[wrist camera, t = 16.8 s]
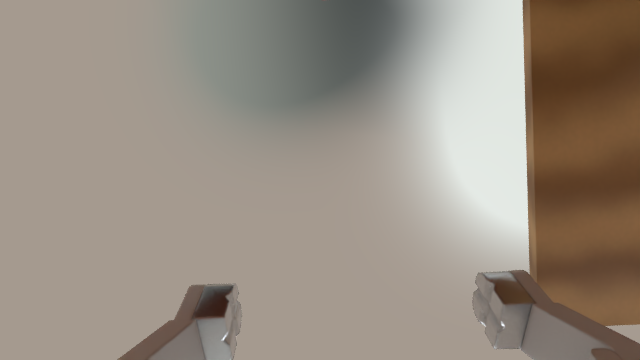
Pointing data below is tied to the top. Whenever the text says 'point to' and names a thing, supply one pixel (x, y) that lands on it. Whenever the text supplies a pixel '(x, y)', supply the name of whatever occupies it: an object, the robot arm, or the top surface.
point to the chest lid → (584, 154)
